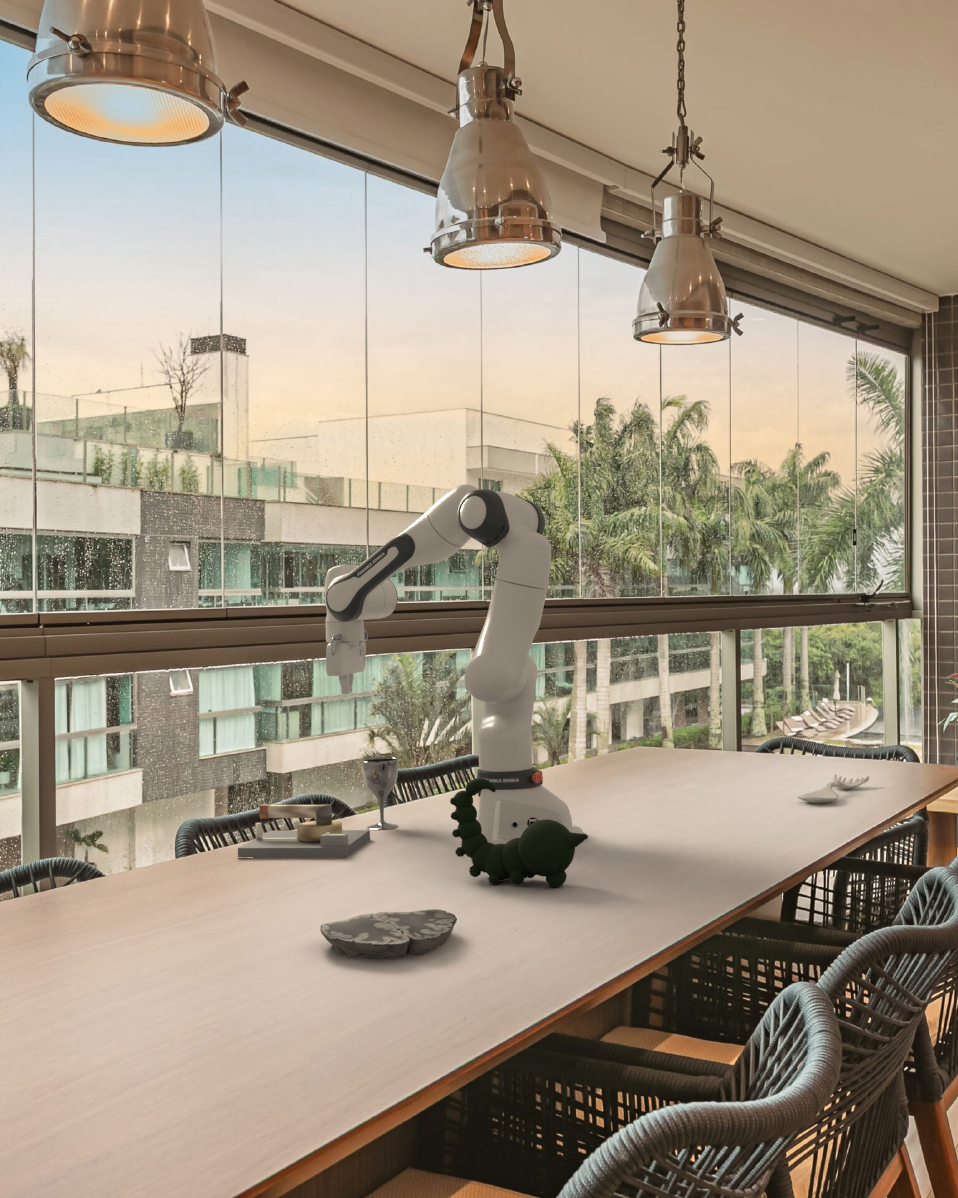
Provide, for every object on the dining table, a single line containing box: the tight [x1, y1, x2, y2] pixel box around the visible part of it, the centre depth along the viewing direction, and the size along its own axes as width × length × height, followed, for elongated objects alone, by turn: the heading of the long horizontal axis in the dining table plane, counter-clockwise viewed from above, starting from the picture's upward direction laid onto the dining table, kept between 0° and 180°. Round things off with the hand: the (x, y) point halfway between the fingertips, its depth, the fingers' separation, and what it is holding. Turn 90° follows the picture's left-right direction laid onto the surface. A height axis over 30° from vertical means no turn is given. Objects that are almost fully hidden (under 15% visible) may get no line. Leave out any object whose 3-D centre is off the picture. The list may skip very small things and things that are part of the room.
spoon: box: [796, 774, 870, 805], centre depth 270 cm, size 9×32×4 cm, turn 145°
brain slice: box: [319, 908, 458, 960], centre depth 159 cm, size 20×17×3 cm
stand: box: [237, 822, 371, 859], centre depth 230 cm, size 22×18×5 cm
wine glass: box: [361, 756, 399, 831], centre depth 251 cm, size 8×8×15 cm
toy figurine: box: [449, 777, 589, 888], centre depth 193 cm, size 9×19×25 cm
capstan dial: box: [258, 803, 343, 842], centre depth 230 cm, size 17×9×6 cm, turn 76°
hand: (346, 693), depth 263 cm, fingers closed
